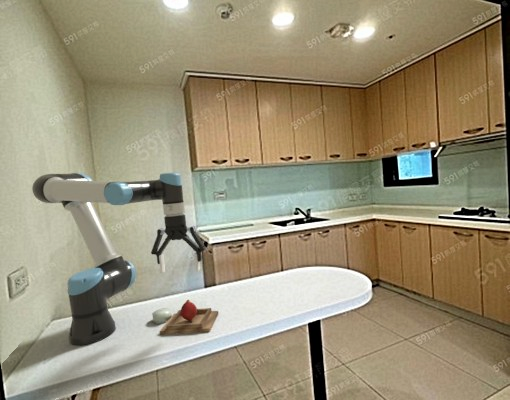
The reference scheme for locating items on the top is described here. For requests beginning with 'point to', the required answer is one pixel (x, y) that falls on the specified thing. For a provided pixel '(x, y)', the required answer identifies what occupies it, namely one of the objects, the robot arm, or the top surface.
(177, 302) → the top surface
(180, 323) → the tray
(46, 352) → the top surface
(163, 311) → the pale green dome
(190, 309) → the onion
